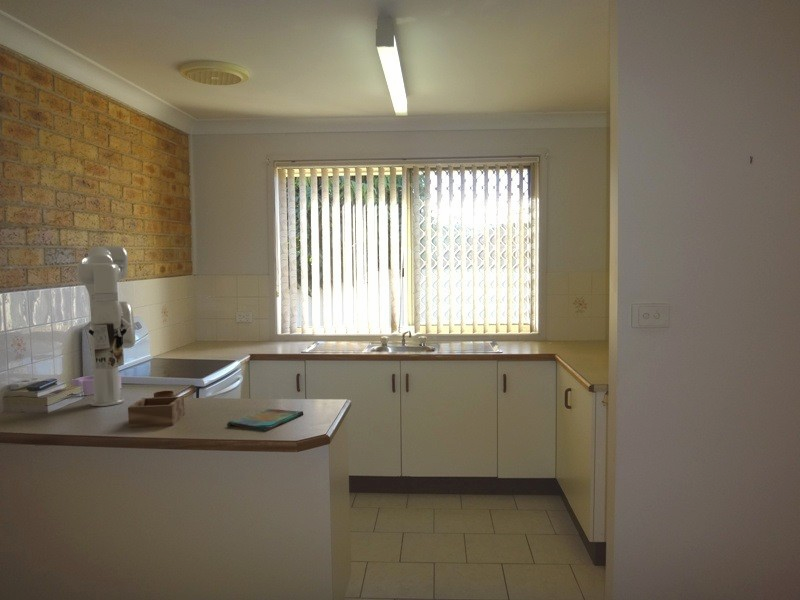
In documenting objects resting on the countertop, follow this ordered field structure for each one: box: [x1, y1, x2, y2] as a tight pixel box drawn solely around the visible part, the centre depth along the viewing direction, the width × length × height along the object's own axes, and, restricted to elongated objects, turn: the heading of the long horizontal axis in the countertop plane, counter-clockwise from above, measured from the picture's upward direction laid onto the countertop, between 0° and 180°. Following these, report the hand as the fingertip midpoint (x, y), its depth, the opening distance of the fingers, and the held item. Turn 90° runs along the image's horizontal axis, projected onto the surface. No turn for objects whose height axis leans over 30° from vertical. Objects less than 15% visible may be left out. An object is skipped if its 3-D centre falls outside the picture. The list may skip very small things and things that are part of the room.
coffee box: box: [94, 324, 125, 369], centre depth 222 cm, size 9×6×16 cm
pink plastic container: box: [70, 373, 122, 394], centre depth 280 cm, size 20×12×7 cm, turn 143°
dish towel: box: [226, 408, 304, 432], centre depth 219 cm, size 17×23×2 cm
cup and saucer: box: [152, 390, 175, 398], centre depth 244 cm, size 12×12×6 cm
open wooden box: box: [127, 396, 186, 428], centre depth 223 cm, size 15×15×7 cm
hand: (109, 347), depth 222 cm, fingers closed on coffee box, 6 cm apart
